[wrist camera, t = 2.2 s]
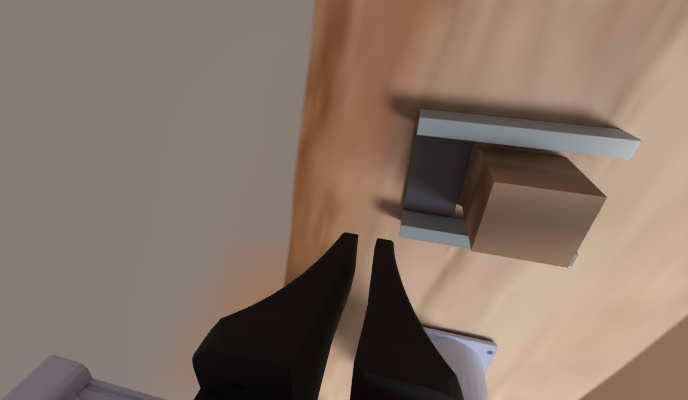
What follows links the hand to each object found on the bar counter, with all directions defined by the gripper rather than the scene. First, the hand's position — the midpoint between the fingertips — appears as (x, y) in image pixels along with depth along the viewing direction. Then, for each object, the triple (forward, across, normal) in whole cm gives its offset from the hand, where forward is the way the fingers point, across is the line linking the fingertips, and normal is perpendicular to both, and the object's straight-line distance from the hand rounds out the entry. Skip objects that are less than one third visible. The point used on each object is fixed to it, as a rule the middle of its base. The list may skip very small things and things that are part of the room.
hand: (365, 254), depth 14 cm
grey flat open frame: (+9, -7, 0) cm, 12 cm away
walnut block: (+10, -8, 0) cm, 12 cm away
